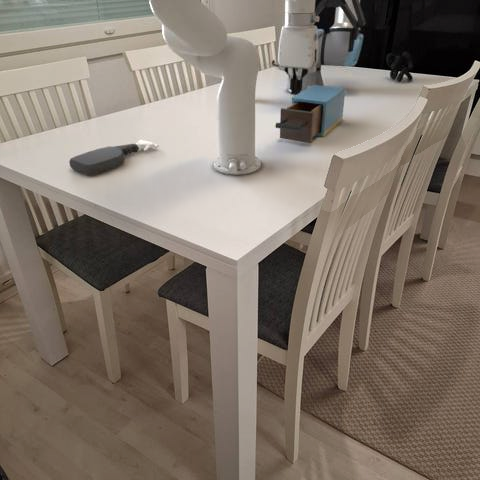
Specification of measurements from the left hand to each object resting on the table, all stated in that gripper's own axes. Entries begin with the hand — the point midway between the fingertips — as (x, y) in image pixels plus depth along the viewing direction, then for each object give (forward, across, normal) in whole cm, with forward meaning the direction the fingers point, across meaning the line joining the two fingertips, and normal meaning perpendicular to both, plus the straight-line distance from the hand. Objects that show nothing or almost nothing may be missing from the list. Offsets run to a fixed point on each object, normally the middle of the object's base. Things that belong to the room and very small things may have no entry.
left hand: (295, 93), depth 124 cm
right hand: (-7, 0, -26) cm, 27 cm away
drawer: (+14, 0, -7) cm, 16 cm away
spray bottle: (+15, +40, +32) cm, 53 cm away
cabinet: (+15, 0, -20) cm, 25 cm away
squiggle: (+15, -10, -98) cm, 100 cm away
